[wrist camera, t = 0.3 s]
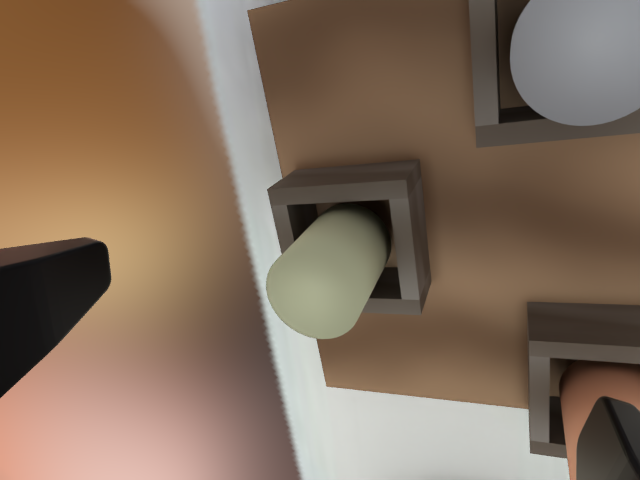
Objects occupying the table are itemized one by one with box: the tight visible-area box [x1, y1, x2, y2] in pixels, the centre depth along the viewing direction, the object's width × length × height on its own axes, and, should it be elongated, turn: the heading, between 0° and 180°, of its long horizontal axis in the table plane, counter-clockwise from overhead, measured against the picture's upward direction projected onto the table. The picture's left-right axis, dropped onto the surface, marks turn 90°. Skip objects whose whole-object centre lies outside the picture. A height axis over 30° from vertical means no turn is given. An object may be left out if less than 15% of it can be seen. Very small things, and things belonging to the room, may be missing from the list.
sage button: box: [266, 203, 392, 339], centre depth 18 cm, size 3×3×4 cm
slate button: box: [510, 0, 640, 126], centre depth 12 cm, size 3×3×4 cm
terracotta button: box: [559, 360, 640, 480], centre depth 16 cm, size 3×3×4 cm
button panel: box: [247, 0, 640, 459], centre depth 19 cm, size 19×16×4 cm
